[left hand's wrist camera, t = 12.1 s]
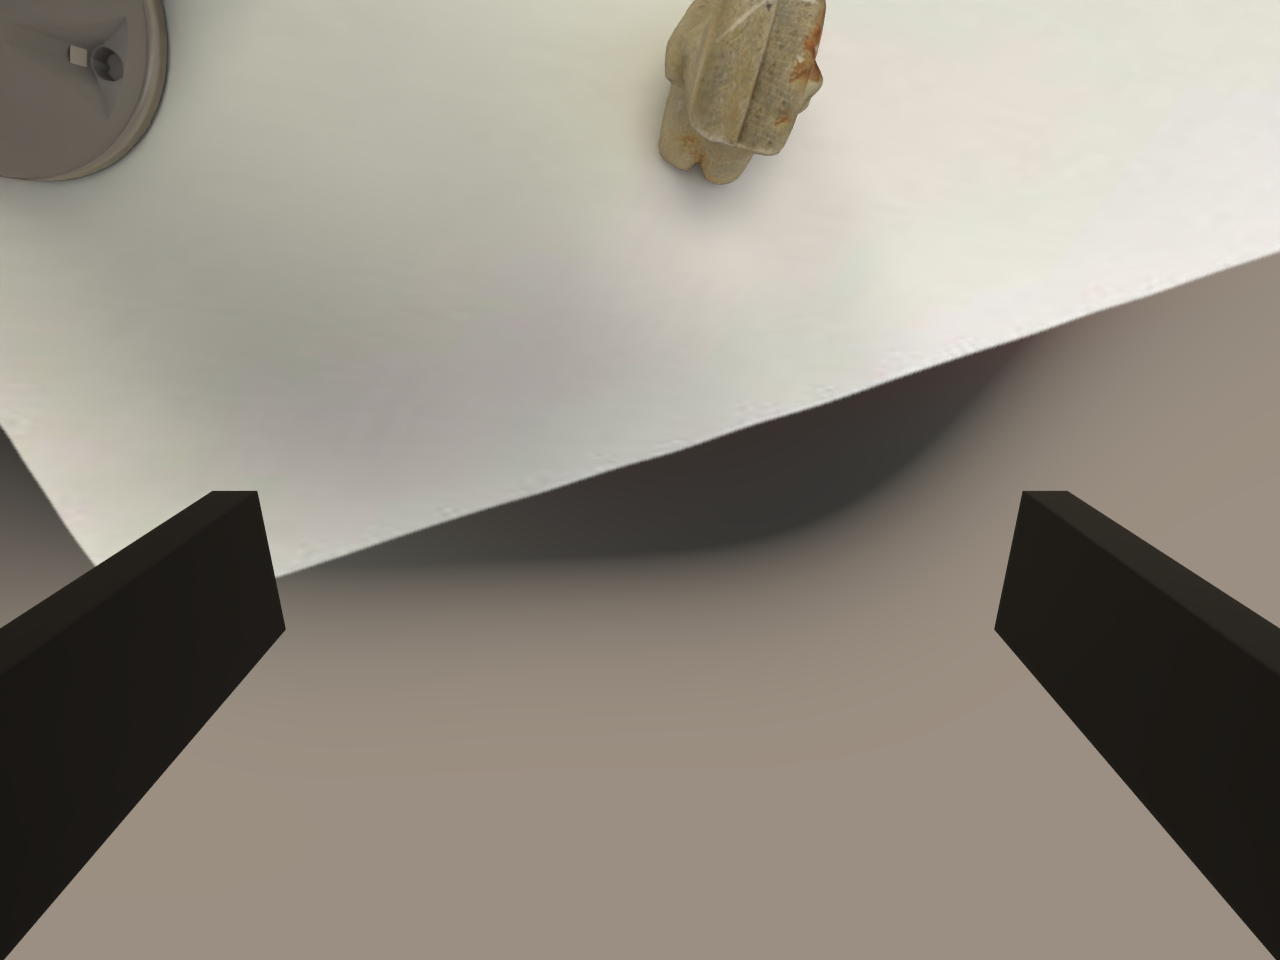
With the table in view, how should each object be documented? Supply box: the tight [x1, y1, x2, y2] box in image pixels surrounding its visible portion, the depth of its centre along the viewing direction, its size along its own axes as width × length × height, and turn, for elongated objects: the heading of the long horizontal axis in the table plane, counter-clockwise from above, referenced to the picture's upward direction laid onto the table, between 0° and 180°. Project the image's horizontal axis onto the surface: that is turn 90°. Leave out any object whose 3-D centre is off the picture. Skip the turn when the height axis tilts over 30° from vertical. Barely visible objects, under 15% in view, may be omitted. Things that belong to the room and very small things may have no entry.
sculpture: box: [659, 0, 826, 184], centre depth 28 cm, size 6×7×15 cm
